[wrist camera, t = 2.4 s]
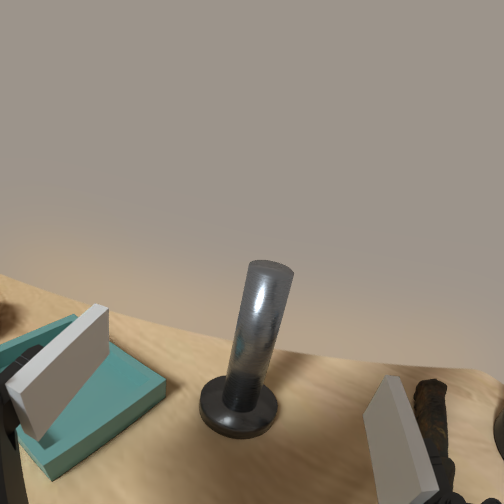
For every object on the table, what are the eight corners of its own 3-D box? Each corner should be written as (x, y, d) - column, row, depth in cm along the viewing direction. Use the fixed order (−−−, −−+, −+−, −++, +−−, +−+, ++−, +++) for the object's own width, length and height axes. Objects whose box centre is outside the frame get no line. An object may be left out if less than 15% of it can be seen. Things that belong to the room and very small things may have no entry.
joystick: (284, 405, 29) (330, 271, 24) (253, 451, 23) (302, 303, 18) (223, 376, 31) (250, 244, 27) (183, 413, 25) (201, 264, 21)
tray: (165, 397, 27) (166, 379, 26) (51, 481, 14) (42, 465, 14) (75, 331, 32) (73, 313, 31) (-25, 377, 20) (-32, 358, 19)
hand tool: (408, 398, 32) (425, 368, 30) (436, 406, 30) (454, 377, 29) (382, 529, 16) (412, 504, 14) (422, 538, 14) (457, 512, 12)
